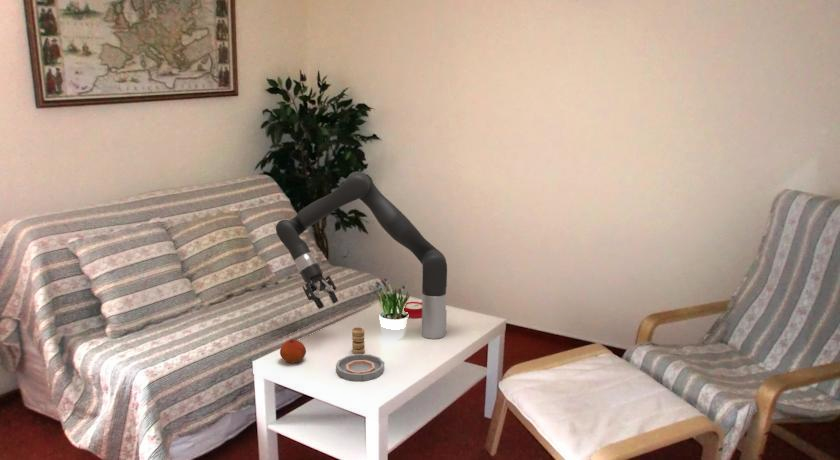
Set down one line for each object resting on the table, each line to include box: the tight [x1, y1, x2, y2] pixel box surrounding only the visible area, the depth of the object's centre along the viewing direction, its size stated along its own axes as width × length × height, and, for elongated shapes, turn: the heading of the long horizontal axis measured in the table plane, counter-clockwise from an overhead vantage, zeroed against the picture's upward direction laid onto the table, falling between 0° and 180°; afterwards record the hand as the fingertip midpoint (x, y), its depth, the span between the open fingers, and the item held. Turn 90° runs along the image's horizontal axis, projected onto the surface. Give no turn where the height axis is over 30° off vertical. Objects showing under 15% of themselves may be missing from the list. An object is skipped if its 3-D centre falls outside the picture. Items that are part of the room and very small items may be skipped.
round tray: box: [335, 353, 385, 382], centre depth 225 cm, size 16×16×2 cm
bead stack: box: [351, 326, 366, 355], centre depth 239 cm, size 4×4×9 cm
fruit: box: [279, 338, 307, 364], centre depth 231 cm, size 9×9×8 cm
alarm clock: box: [404, 301, 422, 319], centre depth 278 cm, size 10×6×15 cm
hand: (329, 305), depth 242 cm, fingers open, 8 cm apart
